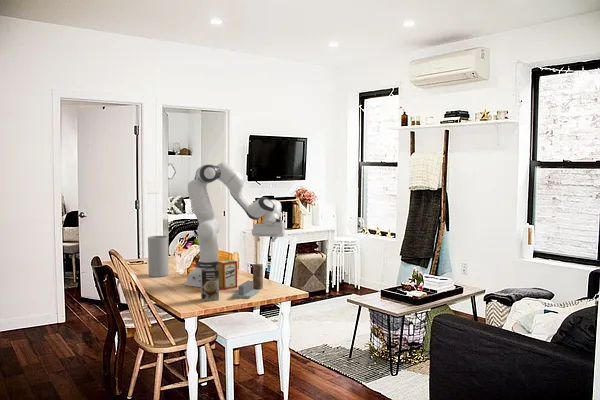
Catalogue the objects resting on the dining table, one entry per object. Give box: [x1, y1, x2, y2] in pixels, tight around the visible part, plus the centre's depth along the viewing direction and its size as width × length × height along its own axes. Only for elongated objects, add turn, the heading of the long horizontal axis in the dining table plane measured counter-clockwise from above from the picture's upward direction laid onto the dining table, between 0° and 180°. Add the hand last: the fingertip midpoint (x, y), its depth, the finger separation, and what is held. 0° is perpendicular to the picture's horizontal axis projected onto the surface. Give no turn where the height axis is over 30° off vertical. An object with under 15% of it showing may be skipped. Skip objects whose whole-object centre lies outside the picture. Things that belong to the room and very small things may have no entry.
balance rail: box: [232, 279, 260, 300], centre depth 305 cm, size 10×14×6 cm
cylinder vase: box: [147, 235, 170, 278], centre depth 356 cm, size 12×12×25 cm
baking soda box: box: [217, 259, 238, 291], centre depth 322 cm, size 10×6×16 cm
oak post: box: [252, 263, 264, 291], centre depth 319 cm, size 4×4×14 cm
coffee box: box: [200, 269, 220, 302], centre depth 295 cm, size 9×6×16 cm
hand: (265, 241), depth 330 cm, fingers open, 8 cm apart
